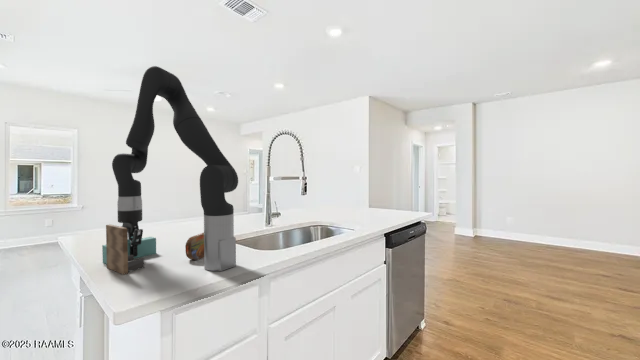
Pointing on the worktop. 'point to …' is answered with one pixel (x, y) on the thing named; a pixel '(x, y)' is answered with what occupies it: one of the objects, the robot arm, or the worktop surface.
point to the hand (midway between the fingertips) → (130, 255)
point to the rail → (143, 249)
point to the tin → (195, 247)
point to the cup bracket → (120, 251)
